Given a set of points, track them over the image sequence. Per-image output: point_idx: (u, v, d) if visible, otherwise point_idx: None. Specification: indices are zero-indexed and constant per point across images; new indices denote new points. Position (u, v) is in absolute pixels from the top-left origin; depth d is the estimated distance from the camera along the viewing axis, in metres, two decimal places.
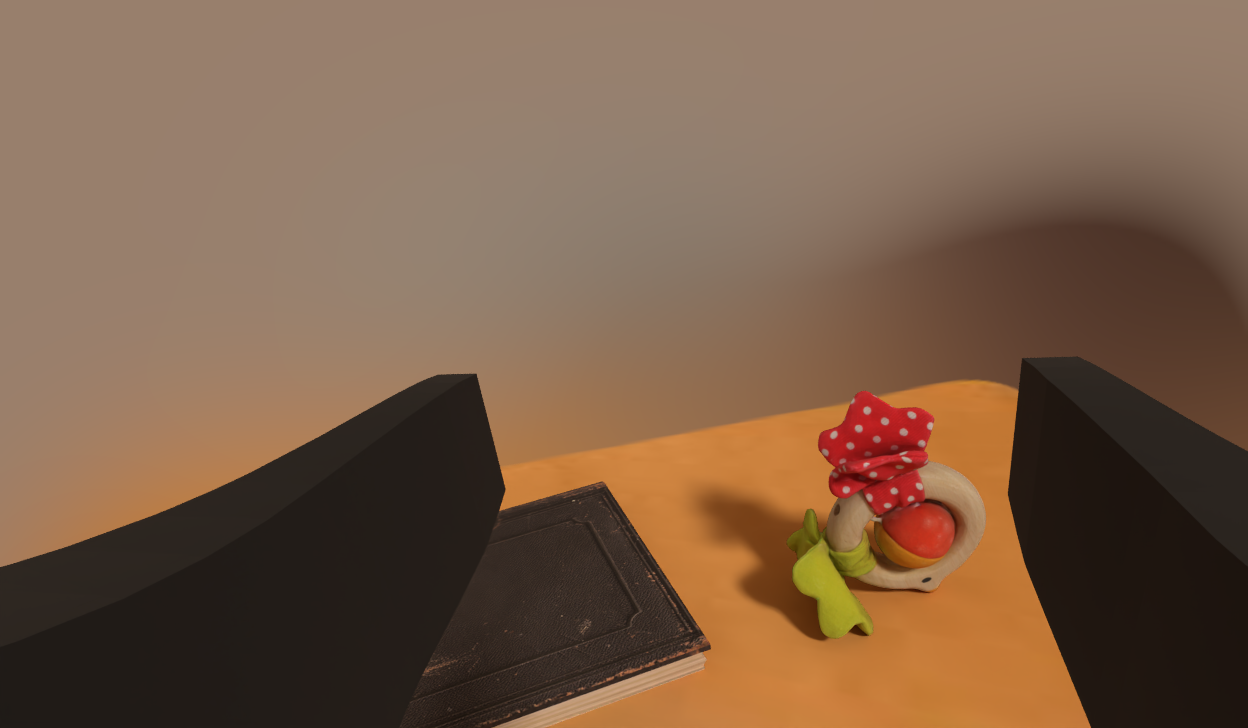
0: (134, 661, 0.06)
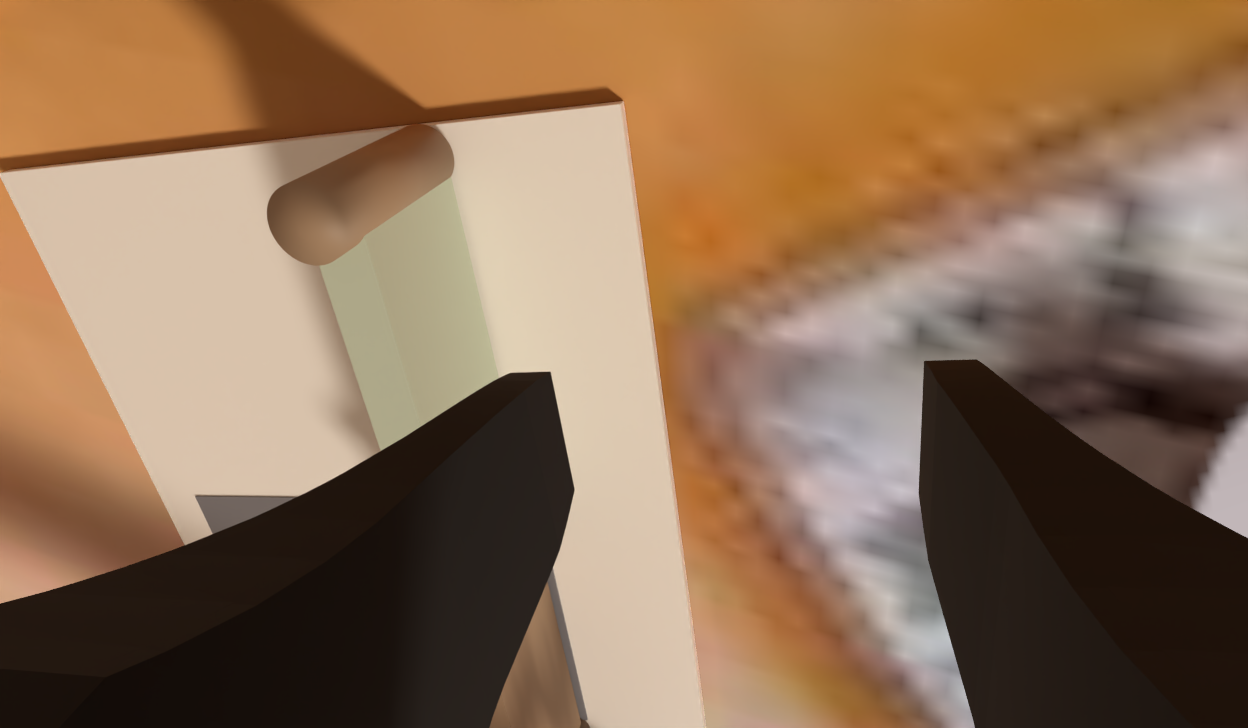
0: (265, 671, 0.05)
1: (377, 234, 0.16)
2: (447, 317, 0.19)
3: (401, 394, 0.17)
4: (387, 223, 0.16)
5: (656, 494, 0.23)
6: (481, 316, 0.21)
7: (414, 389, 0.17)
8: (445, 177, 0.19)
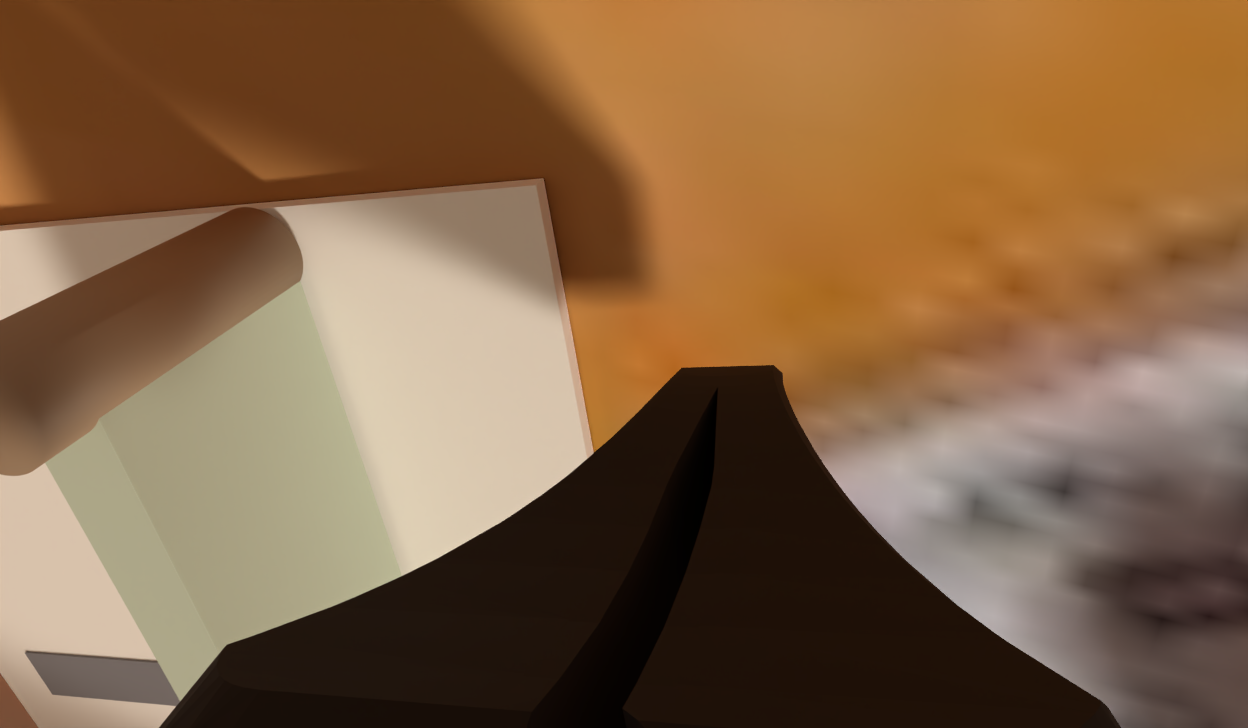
0: (603, 696, 0.05)
1: (133, 408, 0.10)
2: (289, 488, 0.13)
3: (195, 633, 0.11)
4: (156, 384, 0.10)
5: None
6: (357, 465, 0.15)
7: (217, 624, 0.11)
8: (286, 285, 0.13)
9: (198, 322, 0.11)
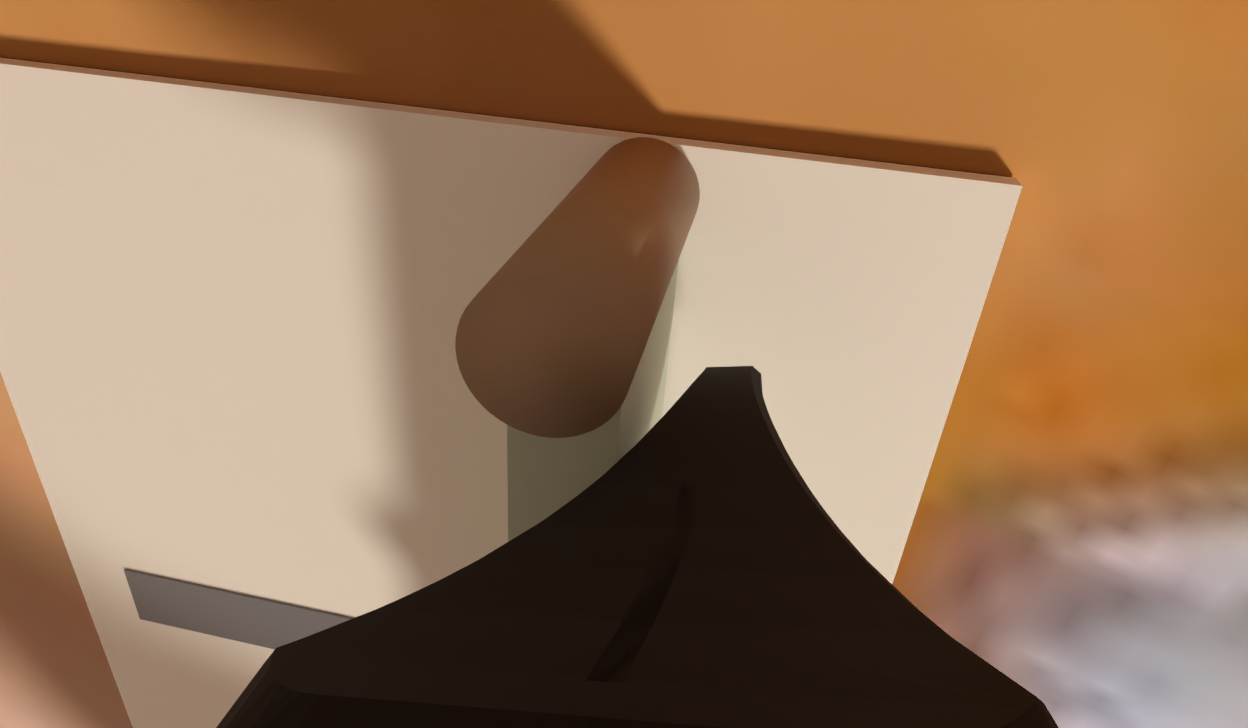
0: None
1: None
2: None
3: None
4: None
5: None
6: None
7: None
8: None
9: (671, 273, 0.09)
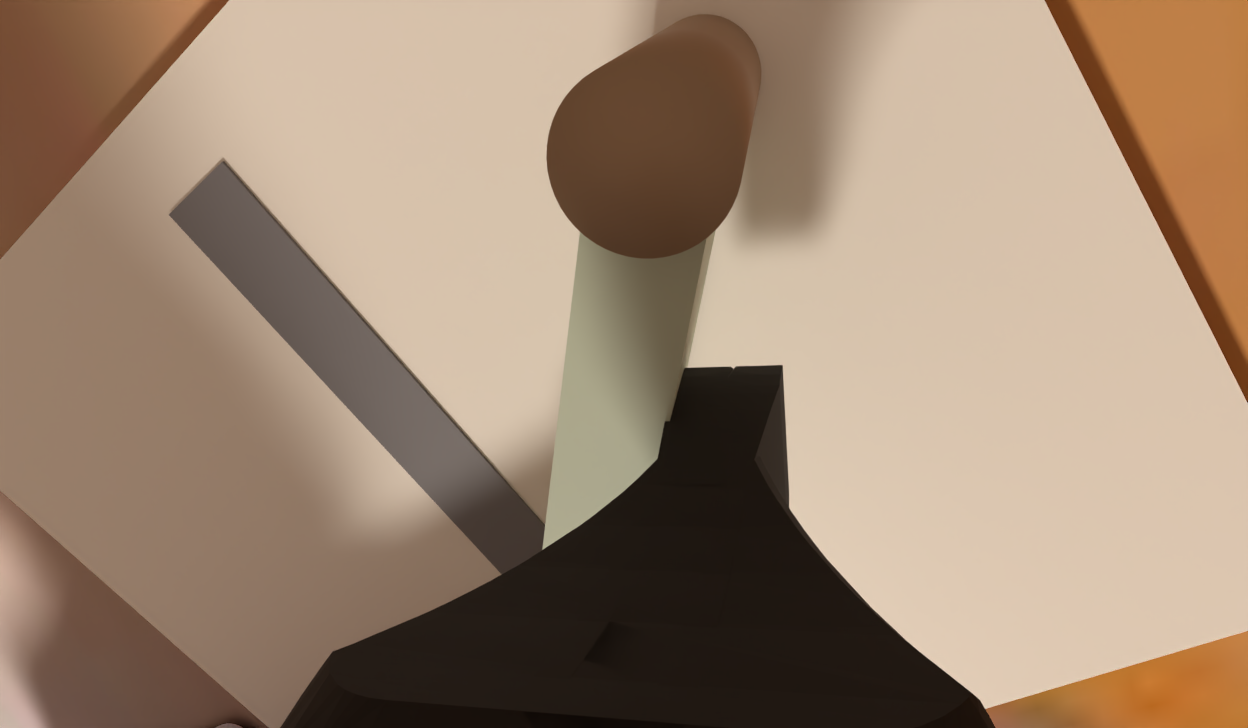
0: None
1: None
2: (685, 363, 0.11)
3: None
4: None
5: None
6: (689, 356, 0.13)
7: None
8: None
9: None
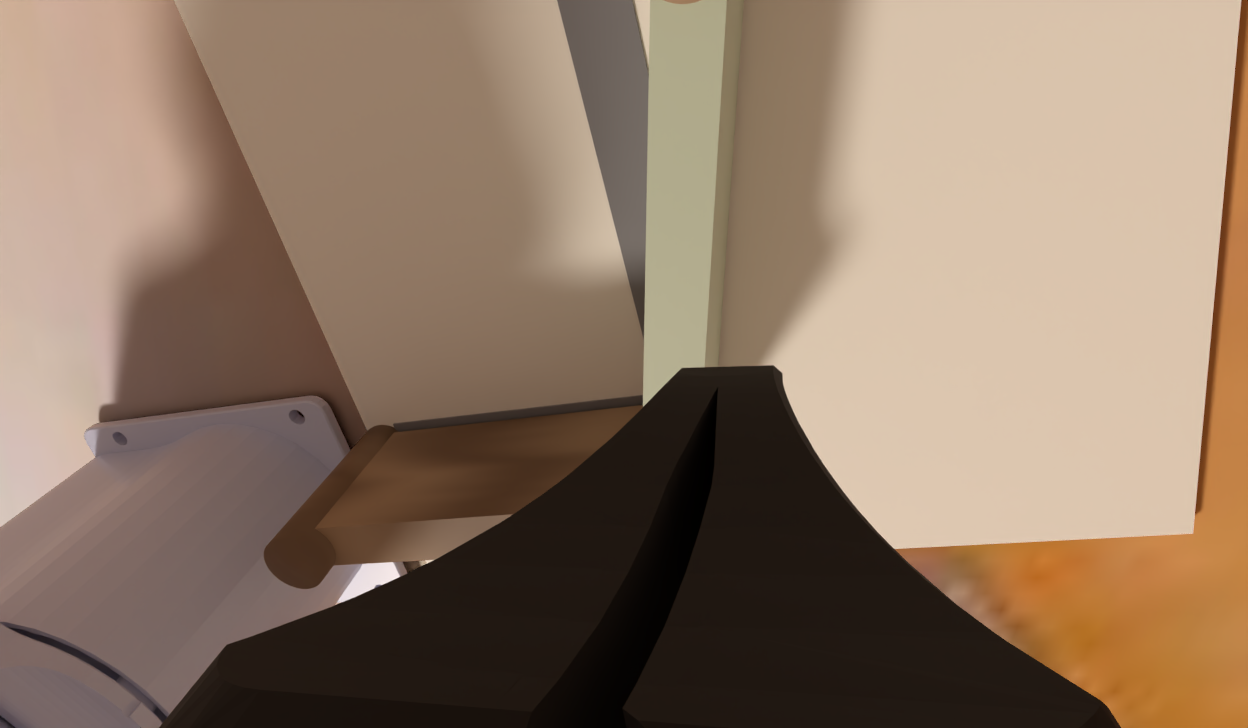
0: (602, 696, 0.05)
1: None
2: (728, 137, 0.15)
3: (700, 208, 0.14)
4: None
5: None
6: (732, 156, 0.17)
7: (715, 205, 0.14)
8: None
9: None
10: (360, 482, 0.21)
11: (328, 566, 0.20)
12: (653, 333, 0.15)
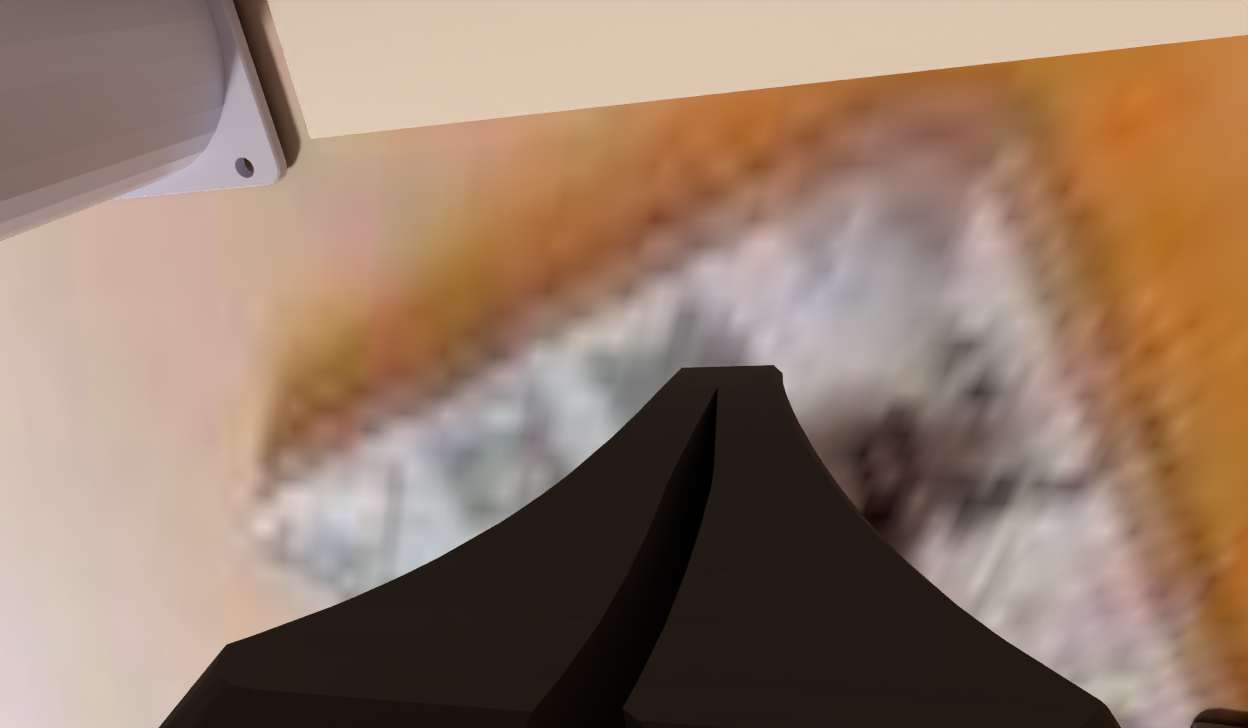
0: (602, 696, 0.05)
1: None
2: None
3: None
4: None
5: (755, 65, 0.17)
6: None
7: None
8: None
9: None
10: None
11: None
12: None
